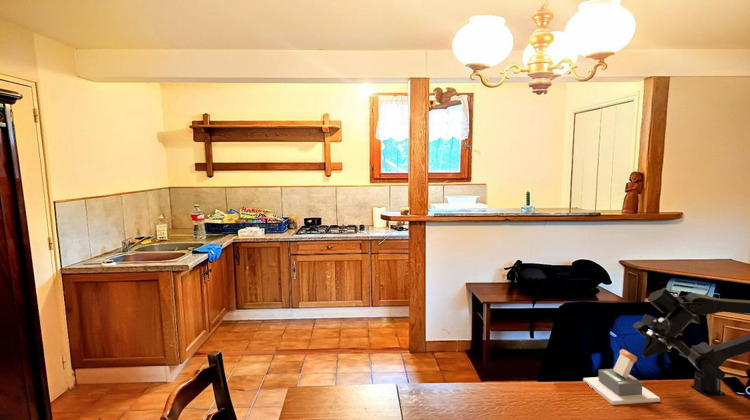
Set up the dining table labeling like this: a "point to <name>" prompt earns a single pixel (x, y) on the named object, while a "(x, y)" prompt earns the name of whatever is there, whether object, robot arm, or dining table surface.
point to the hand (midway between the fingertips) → (643, 356)
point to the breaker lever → (624, 363)
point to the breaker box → (620, 388)
